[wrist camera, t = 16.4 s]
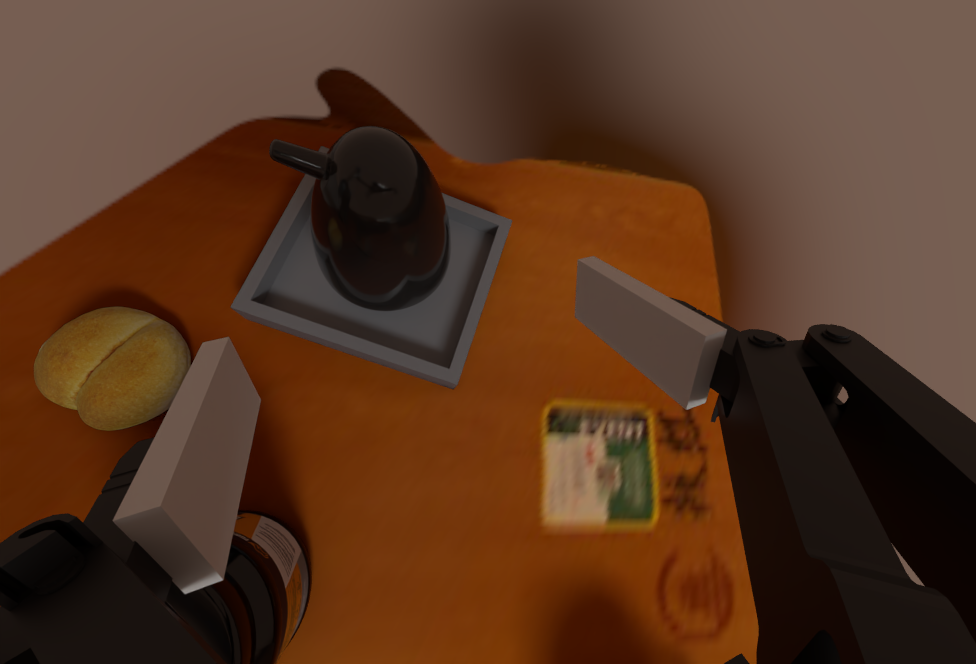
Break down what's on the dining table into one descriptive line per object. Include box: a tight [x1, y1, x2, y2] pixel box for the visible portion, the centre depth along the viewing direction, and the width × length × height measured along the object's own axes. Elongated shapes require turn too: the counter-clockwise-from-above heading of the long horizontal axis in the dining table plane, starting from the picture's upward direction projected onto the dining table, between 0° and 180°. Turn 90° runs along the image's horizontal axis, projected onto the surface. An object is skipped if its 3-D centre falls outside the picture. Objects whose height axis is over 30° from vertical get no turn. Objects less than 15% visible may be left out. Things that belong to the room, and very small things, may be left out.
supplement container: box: [166, 510, 312, 664], centre depth 21 cm, size 10×10×12 cm
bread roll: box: [34, 307, 191, 431], centre depth 28 cm, size 8×9×4 cm
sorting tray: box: [231, 146, 512, 389], centre depth 34 cm, size 18×16×3 cm
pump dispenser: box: [269, 126, 451, 311], centre depth 27 cm, size 10×10×15 cm
